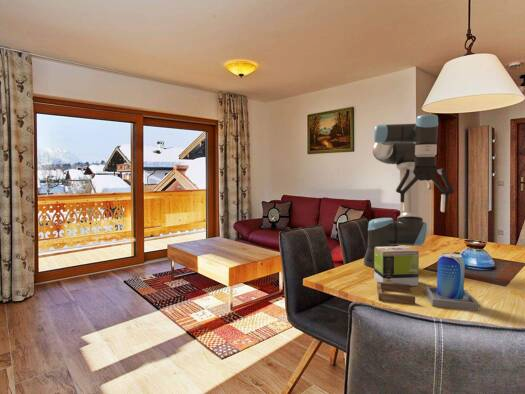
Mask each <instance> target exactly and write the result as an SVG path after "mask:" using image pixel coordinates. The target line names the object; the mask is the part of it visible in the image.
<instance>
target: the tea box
mask: <svg viewBox="0 0 525 394" xmlns="http://www.w3.org/2000/svg"><path fill="white" fill-rule="evenodd" d="M419 256H420V252H419V250H416V248H412V247H411V246H407V245H392V246H386V247H375V248H374V267H373V272H374V275H373V276H374V277H373V278H374V280H375V281H376V283H377V282H383V283H395V284H406V285H410V286H414V287H415V286H419V279H420V278H419V274H420V273H419V272H420V271H419V268H420V267H419V263H420V260H419V259H420V258H419Z"/></svg>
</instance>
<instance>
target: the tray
mask: <svg viewBox="0 0 525 394" xmlns="http://www.w3.org/2000/svg"><path fill="white" fill-rule="evenodd" d="M424 286H425V290H424V293H425V295H426V296H427V298H428V300H429V302H430V304H431V306H432V307H437V308H446V309H447V308H448V309H457V310H467V311H477V312H479V310H480V307H479V306H480V304H479V302H478V301H477V300H476V299H475V298H474V297H473V295H472V294H471V293H470V292H469V291H468V290H467V289H464V295H463V299H461V301H454V300H444V299H440V298H439V296H438V295H437V286H430V285H429V286H427V285H424Z"/></svg>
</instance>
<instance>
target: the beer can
mask: <svg viewBox="0 0 525 394" xmlns="http://www.w3.org/2000/svg"><path fill="white" fill-rule="evenodd" d="M465 266H466V262H465V260H464V259H463V256H462V255H461V254H458V253H453V252H452V253H451V252H442V253H440V256H439V258H438V259H437V276H436V277H437V278H436V279H437V281H436V287H437V295H438V296H439V298H440V299H444V300H454V301H461V299H463V295H464V290H465V270H466V269H465V268H466V267H465Z"/></svg>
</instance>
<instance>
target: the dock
mask: <svg viewBox="0 0 525 394" xmlns="http://www.w3.org/2000/svg"><path fill="white" fill-rule="evenodd" d="M382 289H383V290H385V291H395V292H402V293H403V292H406V293H411V286H410V285H406V284H395V283H383V282H377V281H376V290H377V298H378V301H383V302H391V303H392V302H393V303H401V304H402V303H403V304H410V305H411V304H412V305H416V296H415V295H409V294H400V293H398V294H397V293H388V292H387V293H386V292H383V291H382Z"/></svg>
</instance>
